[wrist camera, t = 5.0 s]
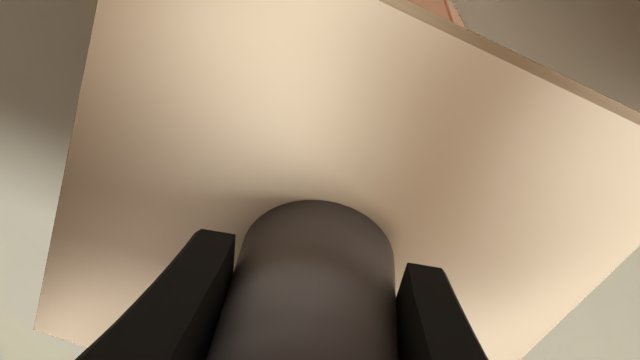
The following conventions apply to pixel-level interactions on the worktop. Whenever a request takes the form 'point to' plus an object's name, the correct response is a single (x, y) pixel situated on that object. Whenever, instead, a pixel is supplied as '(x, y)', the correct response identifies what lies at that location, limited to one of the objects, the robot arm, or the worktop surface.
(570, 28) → the worktop surface
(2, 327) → the worktop surface
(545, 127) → the lid
